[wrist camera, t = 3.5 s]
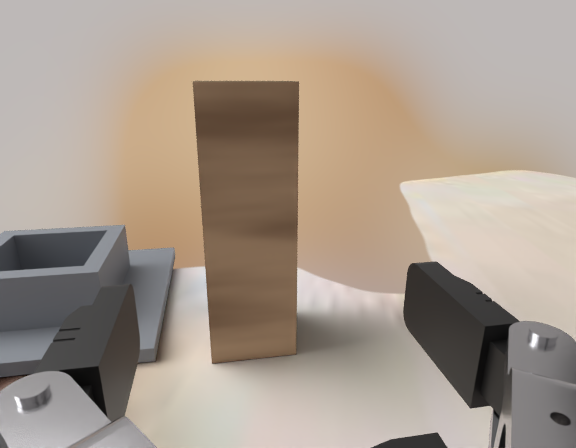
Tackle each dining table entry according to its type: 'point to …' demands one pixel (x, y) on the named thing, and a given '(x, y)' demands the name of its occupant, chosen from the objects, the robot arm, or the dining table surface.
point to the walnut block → (249, 214)
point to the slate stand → (72, 287)
